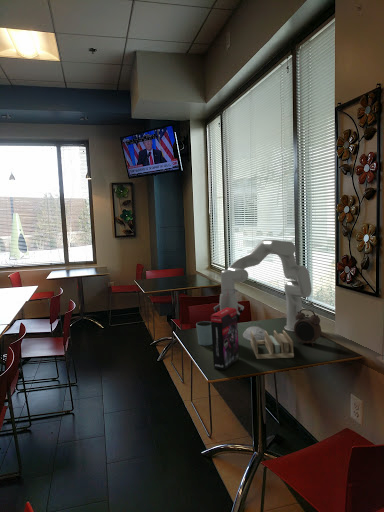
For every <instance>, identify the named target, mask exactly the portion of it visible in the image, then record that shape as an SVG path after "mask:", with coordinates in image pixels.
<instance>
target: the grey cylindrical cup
mask: <svg viewBox="0 0 384 512" xmlns="http://www.w3.org/2000/svg"><path fill="white" fill-rule="evenodd" d="M195 326H196V333H197V341H198V342H197V344H198V345H200V346H206V345H207V346H211V345H212V329H211V321H210V320H209V321H208V320H207V321H205V320H203V321H198V322H196V324H195Z"/></svg>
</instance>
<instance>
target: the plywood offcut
mask: <svg viewBox="0 0 384 512" xmlns="http://www.w3.org/2000/svg"><path fill="white" fill-rule="evenodd" d="M277 334H278V335H279V337H280V338H281V340H282V341H283V353H289V342H288V341H287V340H286V338H285V337H284V336H283V333H277Z"/></svg>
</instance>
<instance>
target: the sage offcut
mask: <svg viewBox="0 0 384 512" xmlns="http://www.w3.org/2000/svg"><path fill="white" fill-rule="evenodd" d="M268 335H269V334H268ZM269 337H270V338H271V340H272V342H273V354H279V353H280V345H279V343H278V342H277V341H276V340H275V339H274V335H272V334H271V335H269Z"/></svg>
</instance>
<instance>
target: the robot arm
mask: <svg viewBox="0 0 384 512" xmlns="http://www.w3.org/2000/svg"><path fill="white" fill-rule="evenodd" d="M296 251H297V250H296V245H295V243H294V242H292V241H285V240H278V239H263V240H261V241H260V242H259V243H258V244H257V245H256V246H255V247H254V248H253V249H252V250H251V251H249V253H248V254H245V255H244V256H242V257H240V258H238V259H236V260H235V261H234V262H232V263H231V264H230V265H229V266H228V268H227V269H223V270H221V271H220V286H221V288H220V291H221V292H220V294H219V304H217V305H215V306H214V307H213V310H214V312H215V313H216V312H218V310H217V309H218V308H219V311H220V310H222V309H224V308H226V307H228V308H235V309H237V323H238V322H239V321H241V320H240V318H241V314H242V312H243V311H244V309H245V306H244V305H242V304H240V303H238V295H237V293H238V289H236V287H235V286H236V285H235V283H243V282H245V281H247V280H248V278H249V272H248V271H247V270H246V269H247V268H248V269H249V268H250V267H255V266H257V265H259V264H261V263H262V261H264V259H265V258H267V256H269V255H277V256H278V257H279V259H280V261H281V265H282V270H283V271H282V272H283V274H284V277H285V278H286V279H287V280H288V281H286V282H285V284H284V293H285V299H286V300H285V301H286V325H284V331H285V330H286V331H288V332H294V325H295V323H296V322H297V321H298V320H296V314H298V313H297V312H300V310H302V309H303V302H302V298H309V297H310V296H311V294H312V292H313V291H312V282H311V277H310V272H309V270H308V268H307V267H306V266H304V265H298V264H297V260H296V257H295V253H296ZM239 308H240V309H239ZM301 313H303V310H302V311H301Z"/></svg>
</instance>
